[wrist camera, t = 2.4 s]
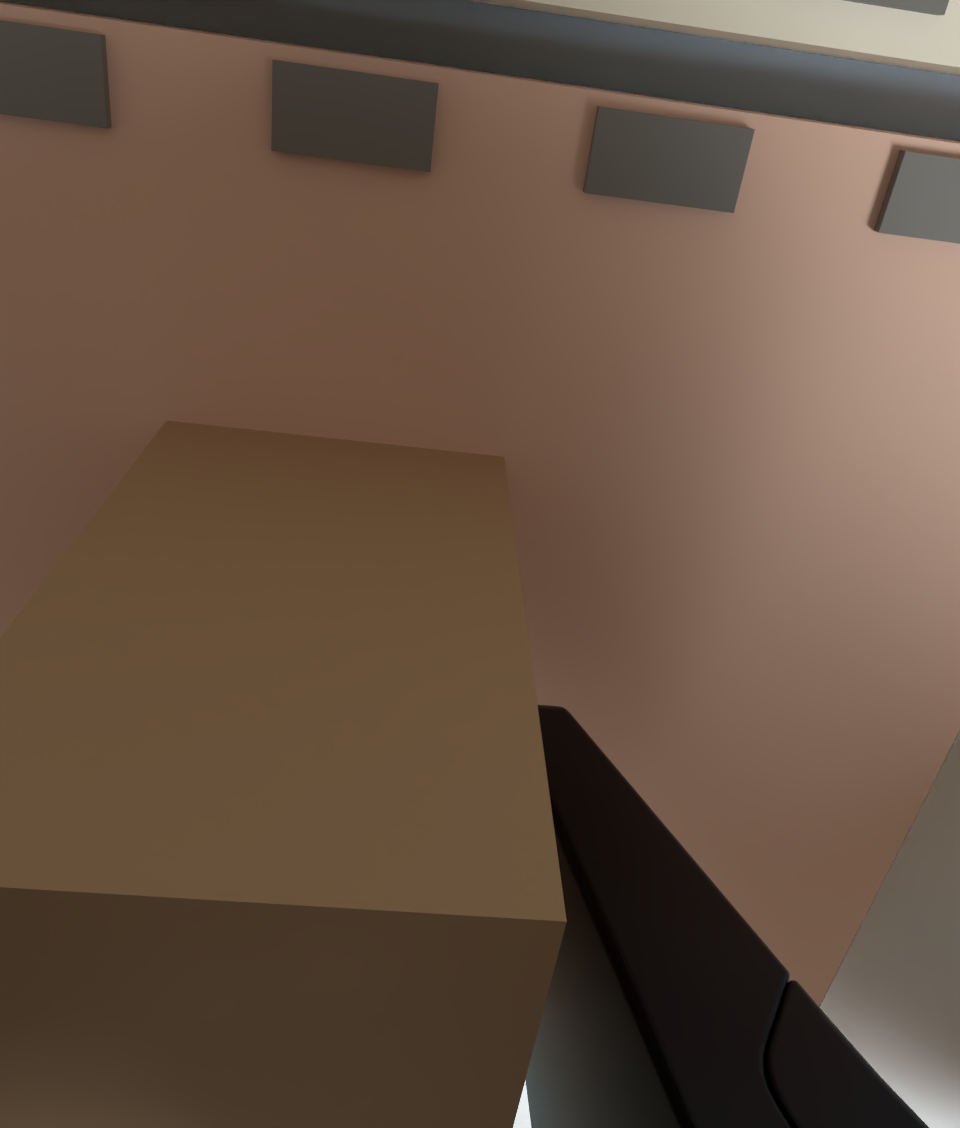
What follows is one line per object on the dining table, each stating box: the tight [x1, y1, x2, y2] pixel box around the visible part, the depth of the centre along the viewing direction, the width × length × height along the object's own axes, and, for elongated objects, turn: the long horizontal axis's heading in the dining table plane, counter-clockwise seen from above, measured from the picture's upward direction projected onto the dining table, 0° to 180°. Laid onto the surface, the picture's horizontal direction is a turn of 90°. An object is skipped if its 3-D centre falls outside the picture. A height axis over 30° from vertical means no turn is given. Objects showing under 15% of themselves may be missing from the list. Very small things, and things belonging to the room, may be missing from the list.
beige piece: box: [0, 1, 960, 1128], centre depth 8 cm, size 14×11×6 cm
